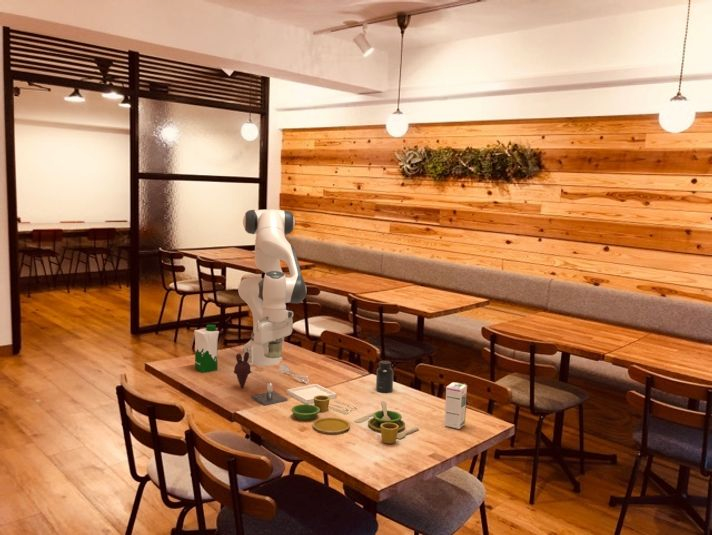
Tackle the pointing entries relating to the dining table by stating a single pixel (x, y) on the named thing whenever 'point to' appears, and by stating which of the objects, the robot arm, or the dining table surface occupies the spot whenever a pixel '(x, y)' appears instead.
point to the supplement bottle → (384, 377)
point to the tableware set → (381, 422)
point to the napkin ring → (274, 350)
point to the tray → (310, 393)
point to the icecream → (242, 369)
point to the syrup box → (455, 405)
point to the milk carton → (206, 349)
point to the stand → (269, 397)
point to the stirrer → (286, 369)
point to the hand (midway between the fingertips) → (273, 351)
